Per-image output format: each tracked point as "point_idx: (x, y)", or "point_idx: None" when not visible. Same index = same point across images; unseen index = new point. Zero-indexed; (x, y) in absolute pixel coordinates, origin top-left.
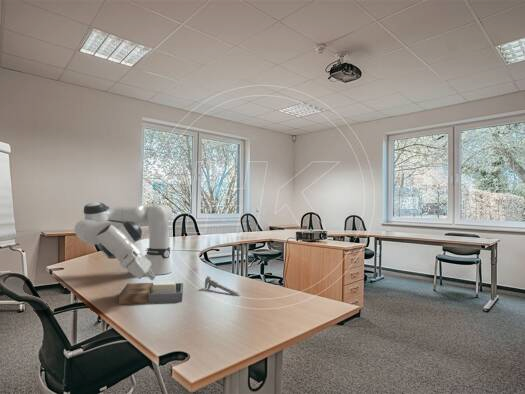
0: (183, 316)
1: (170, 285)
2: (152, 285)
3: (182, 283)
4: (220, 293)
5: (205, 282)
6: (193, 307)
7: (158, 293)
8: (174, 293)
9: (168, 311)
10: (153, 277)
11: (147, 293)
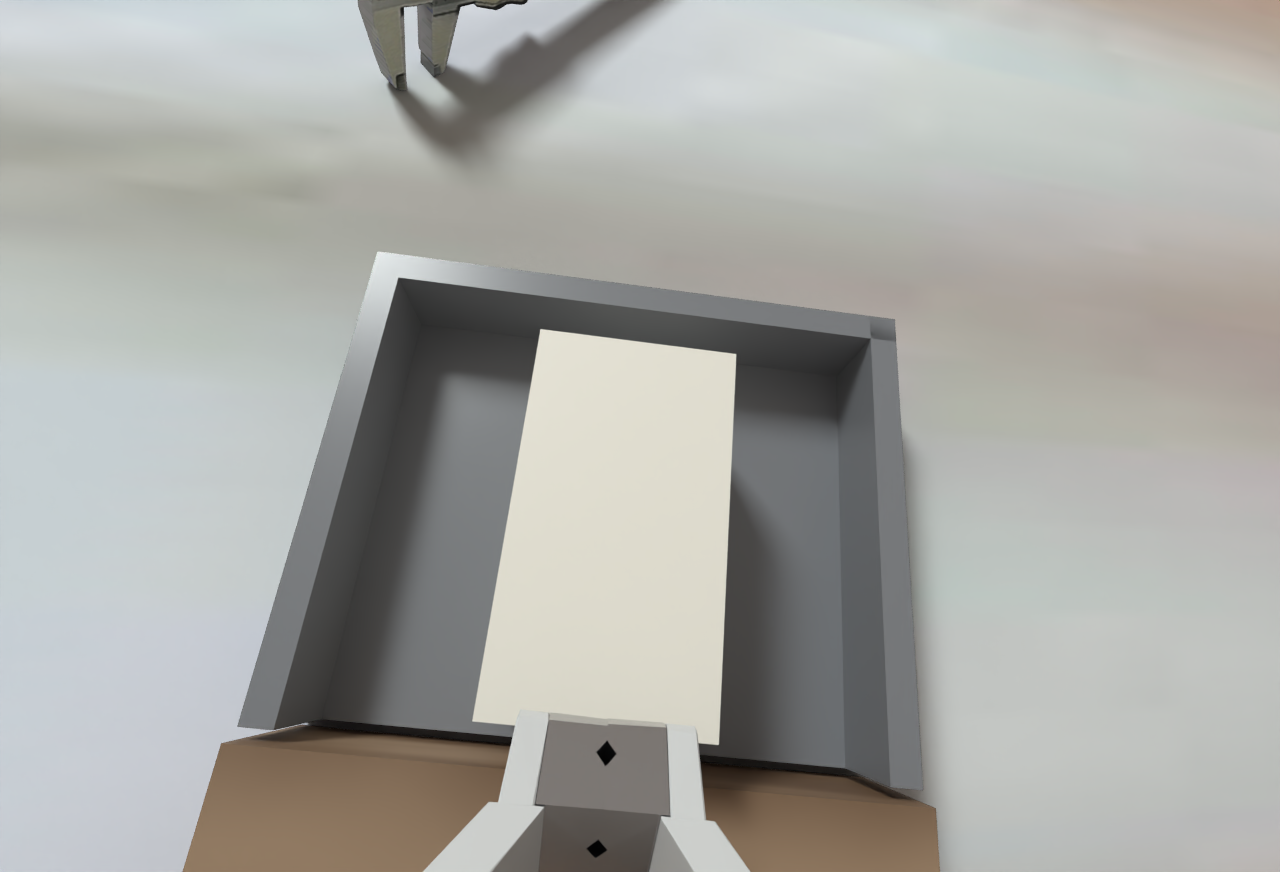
0: (1274, 398)
1: (729, 427)
2: (362, 752)
3: (399, 263)
4: (636, 14)
5: (383, 22)
6: (1034, 288)
7: (886, 632)
8: (898, 409)
9: (1157, 524)
10: (693, 765)
11: (933, 826)
